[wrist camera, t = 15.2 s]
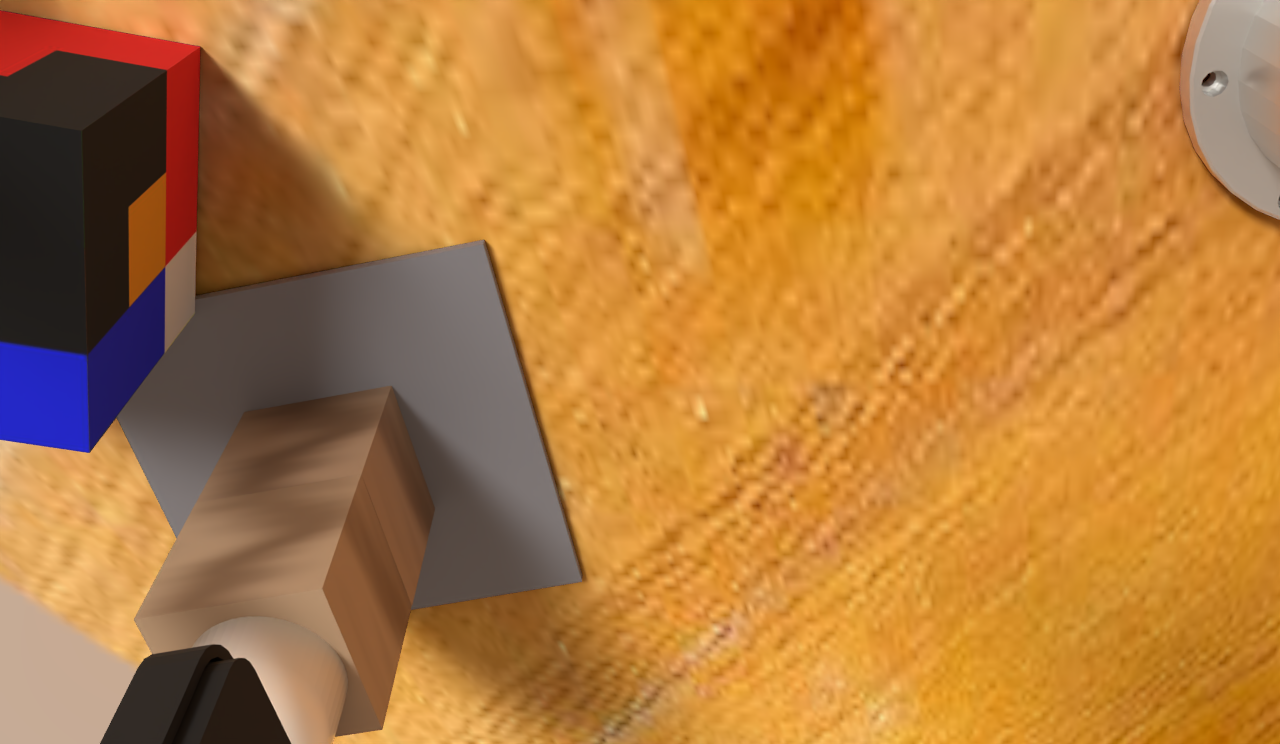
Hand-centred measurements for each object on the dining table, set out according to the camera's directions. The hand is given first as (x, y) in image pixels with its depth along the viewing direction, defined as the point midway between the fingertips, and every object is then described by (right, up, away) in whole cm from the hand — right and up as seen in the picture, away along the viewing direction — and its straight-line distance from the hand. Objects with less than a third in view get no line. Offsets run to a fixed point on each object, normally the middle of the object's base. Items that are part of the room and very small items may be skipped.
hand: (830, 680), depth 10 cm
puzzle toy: (-22, +10, +33) cm, 41 cm away
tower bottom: (-13, -1, +38) cm, 41 cm away
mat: (-13, -1, +39) cm, 41 cm away
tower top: (-13, -4, +33) cm, 36 cm away
